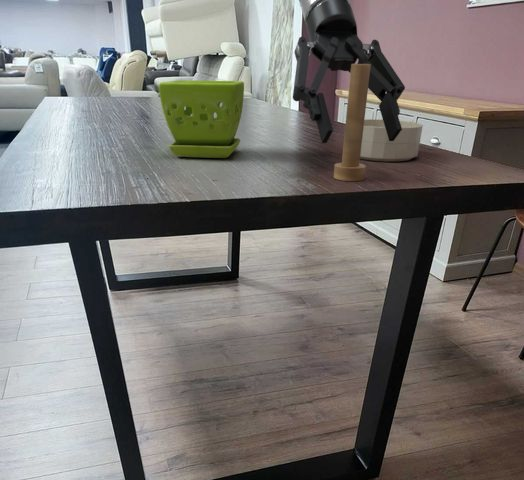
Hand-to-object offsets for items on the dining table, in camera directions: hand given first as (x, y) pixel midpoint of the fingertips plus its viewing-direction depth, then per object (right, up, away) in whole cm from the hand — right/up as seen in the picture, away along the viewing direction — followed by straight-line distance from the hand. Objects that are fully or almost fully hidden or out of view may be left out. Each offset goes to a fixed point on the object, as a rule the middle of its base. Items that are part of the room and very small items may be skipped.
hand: (362, 136), depth 74 cm
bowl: (+9, +7, +25) cm, 27 cm away
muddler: (-1, -4, +6) cm, 7 cm away
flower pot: (-26, +6, +22) cm, 35 cm away
